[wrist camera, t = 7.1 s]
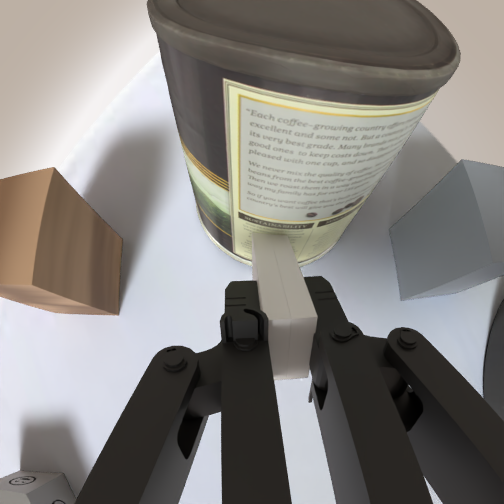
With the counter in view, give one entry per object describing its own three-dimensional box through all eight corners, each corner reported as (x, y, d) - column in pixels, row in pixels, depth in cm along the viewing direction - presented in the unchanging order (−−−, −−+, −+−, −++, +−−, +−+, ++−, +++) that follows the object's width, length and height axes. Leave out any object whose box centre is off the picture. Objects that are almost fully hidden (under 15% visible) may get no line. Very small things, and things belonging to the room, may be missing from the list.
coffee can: (164, 221, 19) (78, 21, 6) (247, 119, 22) (253, -53, 9) (308, 304, 18) (460, 149, 4) (369, 179, 21) (459, 17, 8)
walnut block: (122, 239, 19) (54, 166, 10) (118, 315, 18) (31, 285, 9) (62, 243, 19) (-17, 184, 10) (56, 312, 17) (-39, 283, 9)
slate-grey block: (442, 228, 20) (518, 170, 11) (455, 293, 18) (545, 256, 10) (389, 229, 20) (461, 159, 11) (400, 300, 18) (492, 263, 10)
